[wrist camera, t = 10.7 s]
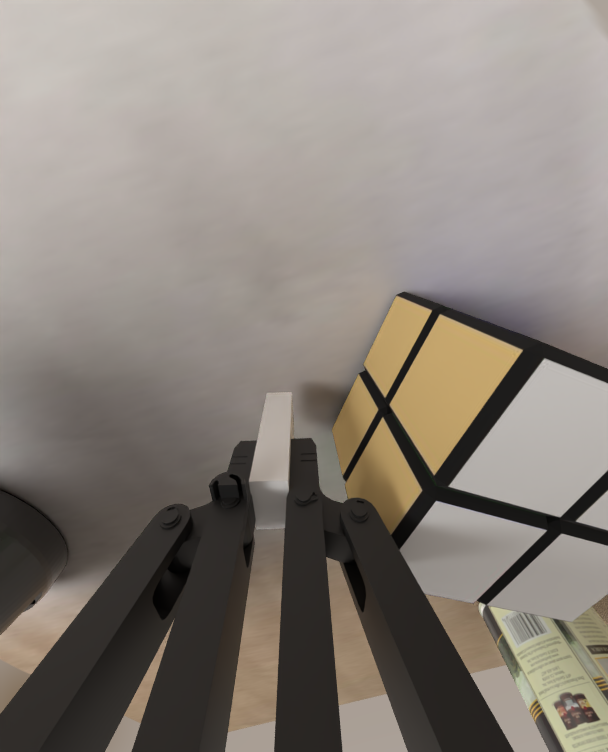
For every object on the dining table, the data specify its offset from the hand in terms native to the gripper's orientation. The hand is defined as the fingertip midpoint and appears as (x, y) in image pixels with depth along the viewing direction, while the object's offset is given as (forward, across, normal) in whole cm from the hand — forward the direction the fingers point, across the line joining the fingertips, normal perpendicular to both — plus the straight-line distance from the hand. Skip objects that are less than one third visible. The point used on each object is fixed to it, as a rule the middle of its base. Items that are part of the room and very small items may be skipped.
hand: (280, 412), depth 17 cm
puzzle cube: (+2, +10, 0) cm, 10 cm away
